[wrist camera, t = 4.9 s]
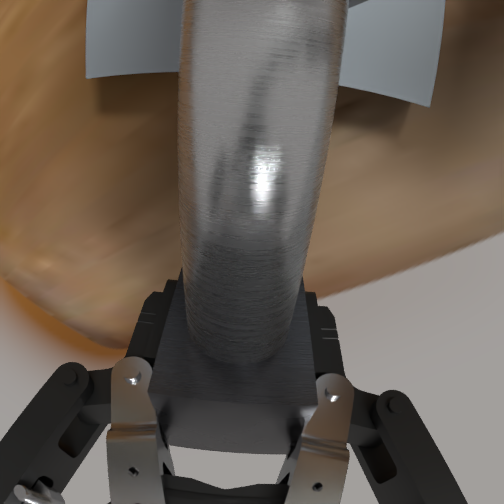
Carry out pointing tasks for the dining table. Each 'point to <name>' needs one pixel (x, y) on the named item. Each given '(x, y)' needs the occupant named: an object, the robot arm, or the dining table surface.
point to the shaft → (247, 220)
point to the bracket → (354, 53)
